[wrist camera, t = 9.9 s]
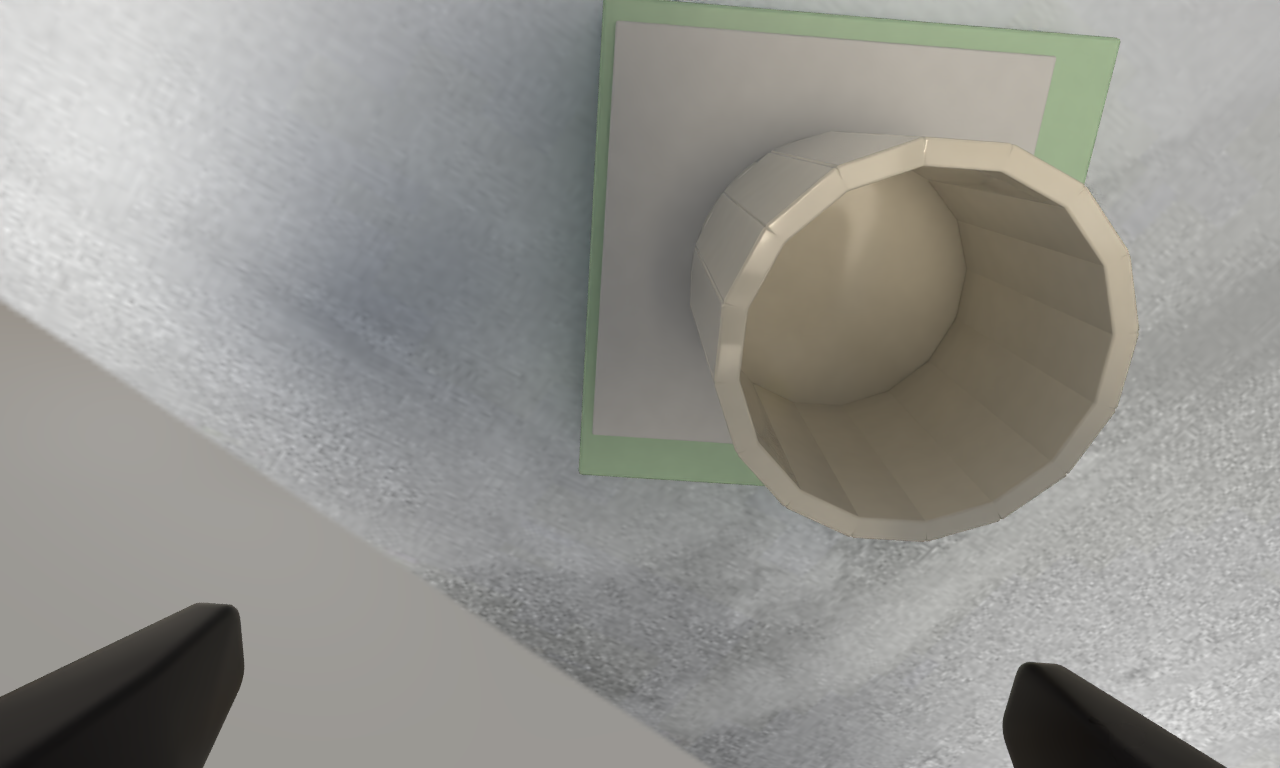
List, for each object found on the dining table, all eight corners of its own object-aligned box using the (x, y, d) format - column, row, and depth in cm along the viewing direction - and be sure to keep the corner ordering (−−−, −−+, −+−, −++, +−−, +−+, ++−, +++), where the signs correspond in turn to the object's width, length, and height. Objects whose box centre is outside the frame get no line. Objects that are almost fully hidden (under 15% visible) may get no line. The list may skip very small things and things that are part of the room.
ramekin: (941, 419, 19) (1076, 552, 13) (677, 402, 18) (697, 529, 13) (1000, 144, 16) (1192, 156, 11) (704, 121, 16) (742, 122, 11)
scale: (977, 469, 22) (1017, 510, 19) (583, 444, 21) (577, 483, 19) (1078, 46, 18) (1142, 36, 16) (606, 7, 18) (602, -9, 15)
